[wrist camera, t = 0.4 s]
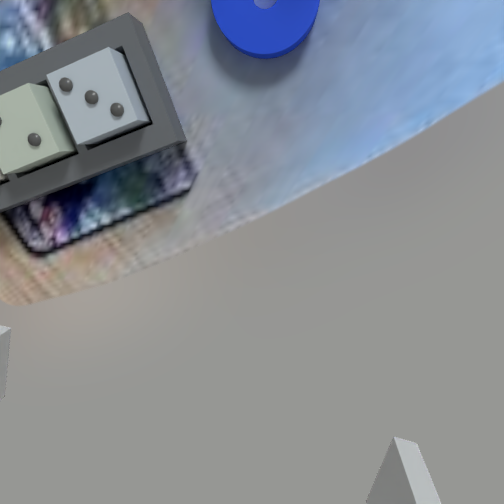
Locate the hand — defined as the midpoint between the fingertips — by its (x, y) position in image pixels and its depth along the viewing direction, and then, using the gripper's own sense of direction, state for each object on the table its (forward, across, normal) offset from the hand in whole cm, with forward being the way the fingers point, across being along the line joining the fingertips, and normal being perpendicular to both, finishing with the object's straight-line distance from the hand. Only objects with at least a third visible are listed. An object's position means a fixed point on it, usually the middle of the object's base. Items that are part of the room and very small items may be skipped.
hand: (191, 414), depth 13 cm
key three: (+23, -15, +9) cm, 29 cm away
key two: (+23, -21, +5) cm, 31 cm away
